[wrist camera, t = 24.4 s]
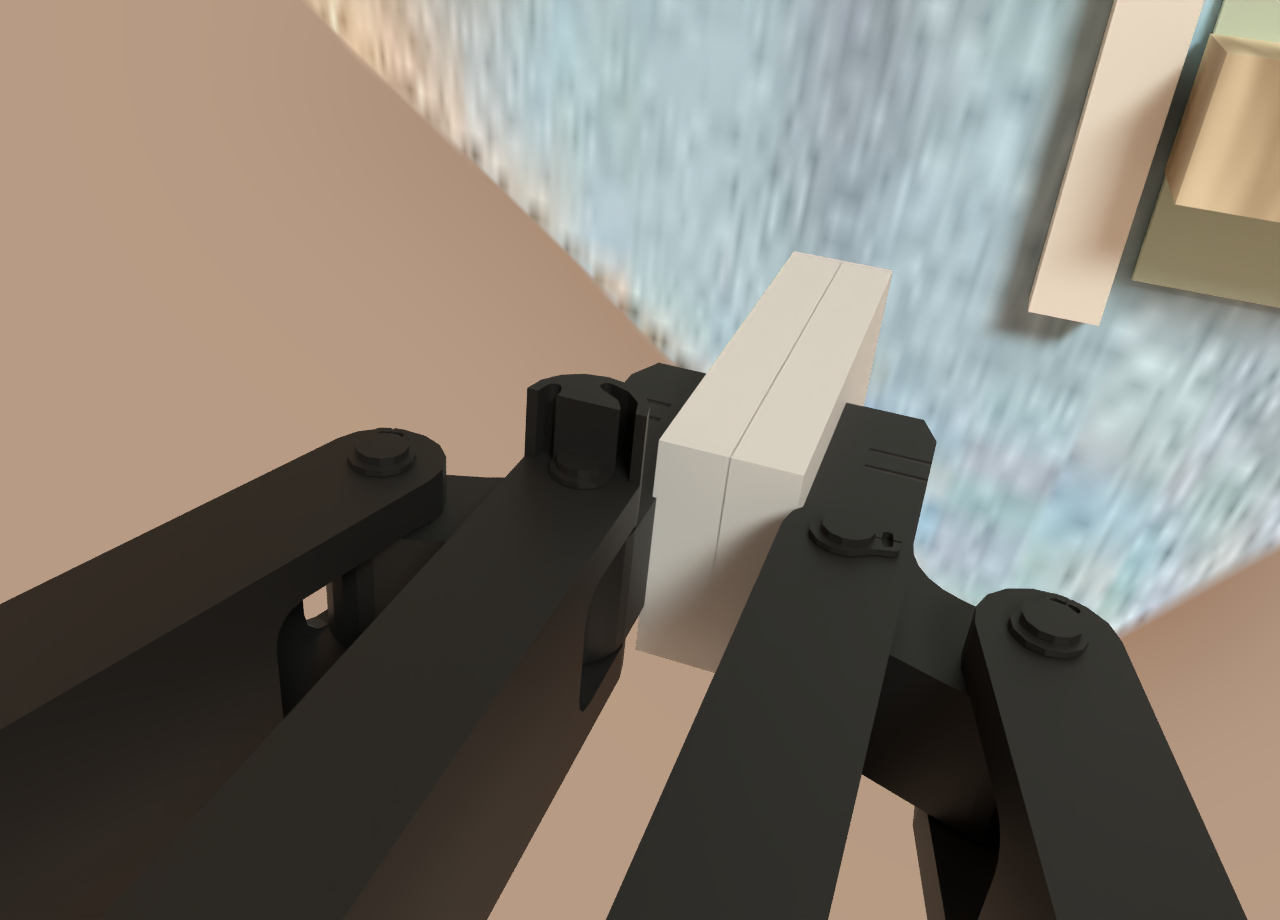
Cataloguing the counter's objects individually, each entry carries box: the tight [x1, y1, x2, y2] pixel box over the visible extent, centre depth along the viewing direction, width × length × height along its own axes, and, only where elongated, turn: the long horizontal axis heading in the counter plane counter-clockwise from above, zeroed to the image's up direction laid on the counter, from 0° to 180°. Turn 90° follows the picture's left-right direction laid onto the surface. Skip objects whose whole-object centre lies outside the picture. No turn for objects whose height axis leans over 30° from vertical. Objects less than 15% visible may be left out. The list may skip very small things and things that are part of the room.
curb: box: [1028, 0, 1204, 326], centre depth 37 cm, size 2×14×2 cm, turn 175°
